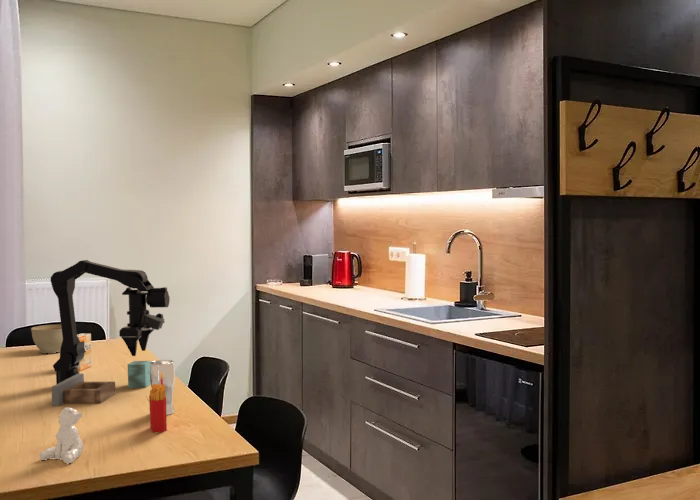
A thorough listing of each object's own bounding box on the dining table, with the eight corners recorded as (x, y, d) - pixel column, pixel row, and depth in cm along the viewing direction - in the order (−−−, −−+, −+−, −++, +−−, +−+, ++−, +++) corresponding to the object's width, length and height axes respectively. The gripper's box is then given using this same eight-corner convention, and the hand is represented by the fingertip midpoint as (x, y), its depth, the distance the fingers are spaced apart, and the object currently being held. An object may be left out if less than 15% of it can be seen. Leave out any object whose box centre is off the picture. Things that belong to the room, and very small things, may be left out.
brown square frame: (64, 403, 218) (63, 390, 218) (80, 393, 230) (80, 381, 230) (100, 403, 218) (100, 390, 218) (115, 393, 229) (115, 381, 229)
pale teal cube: (128, 388, 237) (127, 364, 237) (134, 383, 243) (134, 360, 243) (145, 388, 237) (145, 364, 237) (151, 383, 243) (151, 360, 243)
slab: (52, 406, 215) (51, 386, 215) (78, 391, 233) (77, 373, 233) (58, 406, 215) (57, 386, 215) (84, 391, 233) (83, 373, 233)
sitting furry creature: (37, 461, 167) (35, 410, 166) (64, 449, 175) (62, 401, 174) (69, 465, 163) (67, 414, 163) (94, 453, 171) (93, 404, 171)
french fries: (149, 426, 193) (147, 382, 193) (163, 424, 195) (162, 381, 194) (153, 434, 185) (152, 389, 185) (168, 432, 187) (167, 388, 186)
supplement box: (80, 371, 265) (79, 336, 264) (68, 371, 266) (67, 336, 265) (92, 366, 273) (91, 333, 272) (81, 366, 274) (80, 332, 273)
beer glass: (180, 410, 208) (178, 360, 208) (166, 417, 202) (165, 365, 201) (160, 408, 211) (158, 359, 210) (146, 415, 204) (144, 363, 203)
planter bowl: (63, 355, 297) (62, 329, 296) (25, 355, 297) (24, 330, 296) (78, 348, 313) (77, 323, 312) (42, 348, 313) (41, 324, 312)
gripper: (151, 311, 229) (152, 358, 230) (169, 304, 248) (170, 348, 249) (118, 311, 230) (119, 358, 231) (138, 304, 248) (139, 348, 249)
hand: (138, 353), depth 240 cm, fingers open, 9 cm apart
